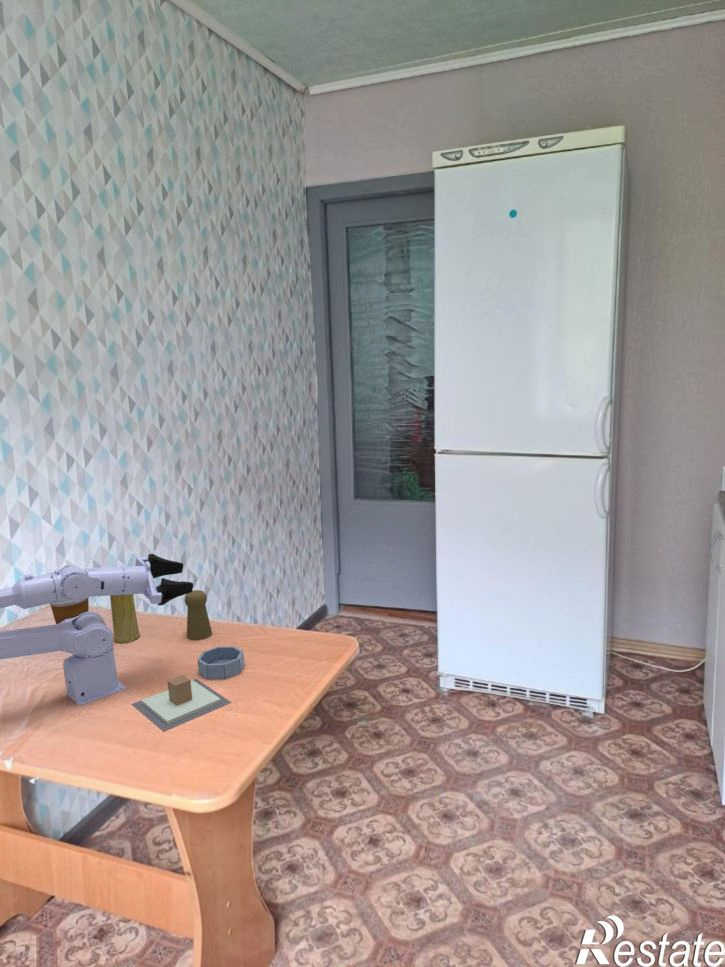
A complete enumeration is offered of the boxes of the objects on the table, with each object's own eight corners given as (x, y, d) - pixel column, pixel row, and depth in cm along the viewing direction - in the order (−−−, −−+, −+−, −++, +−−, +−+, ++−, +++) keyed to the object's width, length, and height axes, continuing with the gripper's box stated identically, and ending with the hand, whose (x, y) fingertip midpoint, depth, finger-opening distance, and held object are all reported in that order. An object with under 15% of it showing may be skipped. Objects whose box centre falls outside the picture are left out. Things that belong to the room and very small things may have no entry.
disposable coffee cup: (95, 627, 172) (89, 582, 169) (95, 641, 163) (89, 594, 161) (54, 634, 168) (48, 588, 166) (52, 649, 160) (45, 601, 157)
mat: (163, 733, 121) (163, 731, 121) (131, 706, 131) (131, 704, 131) (232, 704, 130) (231, 702, 130) (196, 680, 140) (196, 678, 140)
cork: (208, 639, 161) (204, 595, 159) (183, 640, 161) (178, 596, 159) (214, 629, 167) (210, 587, 164) (190, 630, 167) (185, 588, 165)
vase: (108, 642, 162) (101, 585, 159) (124, 631, 168) (117, 577, 165) (130, 644, 160) (123, 587, 158) (145, 633, 166) (138, 578, 163)
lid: (167, 725, 123) (164, 701, 122) (142, 704, 131) (139, 681, 130) (220, 702, 130) (218, 679, 129) (193, 683, 138) (191, 661, 137)
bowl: (214, 685, 138) (212, 669, 137) (192, 671, 145) (191, 656, 144) (251, 670, 144) (250, 654, 143) (229, 657, 151) (228, 642, 150)
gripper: (131, 584, 130) (200, 580, 138) (117, 545, 142) (181, 543, 149) (127, 614, 133) (194, 609, 140) (112, 573, 144) (176, 571, 151)
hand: (187, 577), depth 145 cm, fingers open, 7 cm apart
